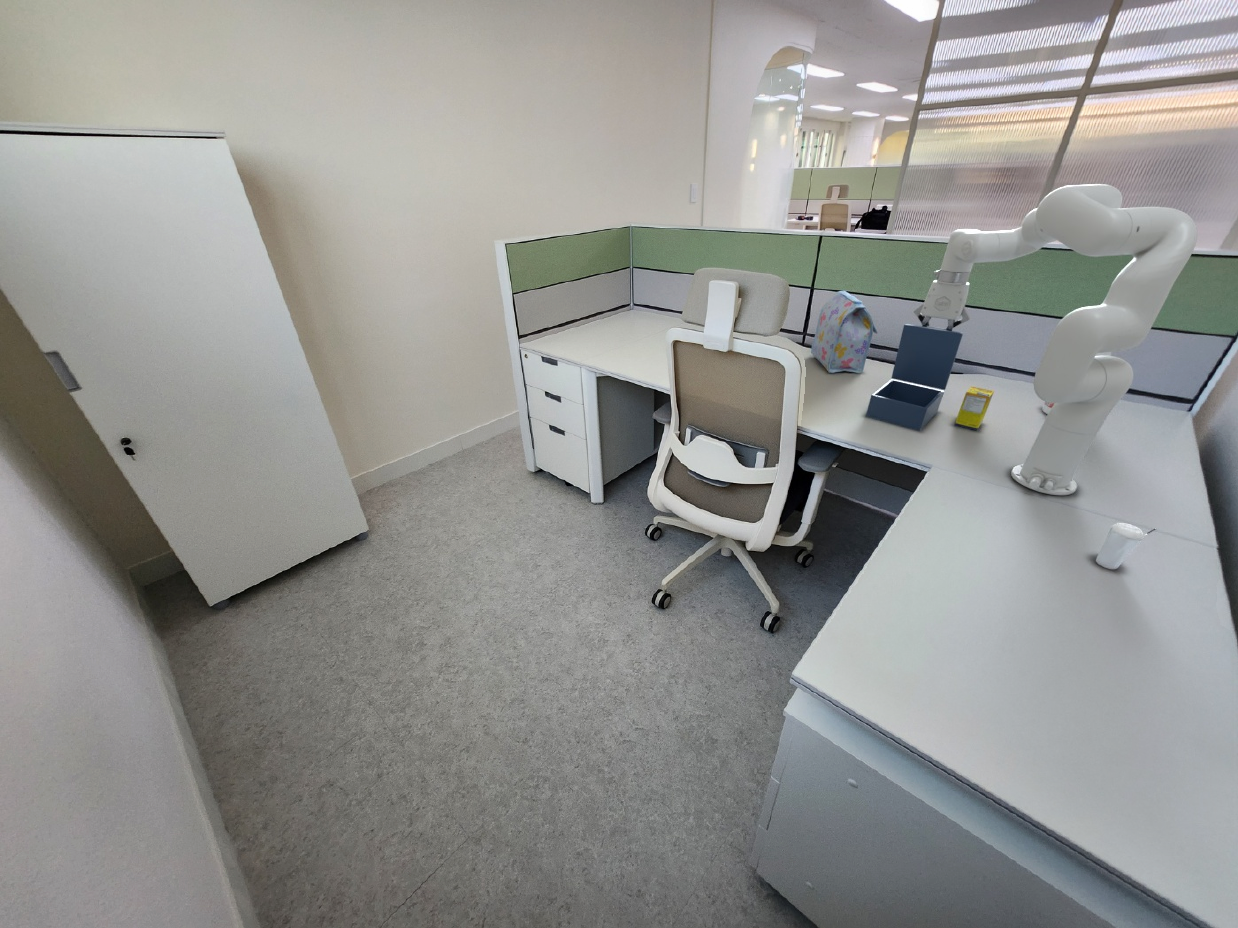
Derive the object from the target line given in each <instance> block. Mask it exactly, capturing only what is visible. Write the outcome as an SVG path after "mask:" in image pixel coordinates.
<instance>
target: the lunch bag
mask: <svg viewBox="0 0 1238 928" xmlns="http://www.w3.org/2000/svg"><path fill="white" fill-rule="evenodd" d="M874 333H875V334H876V335H877V334H878V333H879V332H878V329H877V328H876V325H875V323H874V320H873V317H872V315H871V313H870V312H869V310H868V308H867V307H866V306H865V305H864V304H863V301H862V300H860V299H858V298H857V297H856V296H854V295H851V294H850V293H849V292H847V290H839V291H836V292H835V294H834V295H833V296H832V297H831V298H829V299H828V300H827V302H825V303H824V305H823V306H822V307H821V309H820V312H819V315H818V319H817V326H816V329H815V334H814V338H813V341H812V345H811V349H810V354H811V355H813V357H815V359H816V360H818V362H820V364H821V365H822V366H823V367H824V368H825V369H826V371H827V372H828V373H829V374H835V373H840V372H852V373H856V374H862V373H863V371H864V368H865V365H866V362H867V357H868V353H869V350H870V346H871V343H872V339H873V334H874Z"/></svg>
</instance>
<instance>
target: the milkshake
mask: <svg viewBox="0 0 1238 928" xmlns="http://www.w3.org/2000/svg"><path fill="white" fill-rule="evenodd" d="M1156 530H1157V528H1156V527H1155V528H1152V529H1151V530H1150V531H1148V532H1146V533H1144V532H1143V531H1142V529H1140V527H1137V526H1135V525H1133V524H1130V523H1126V522H1115V523H1114V524H1111V526H1110V528H1109V531H1108V532H1107V535H1106V538H1105V540H1104V542H1103V545H1102V547H1101V549H1100V550H1099V552H1098V554H1097V556H1096V559H1095V562H1096V563H1097V564H1098V565H1099V566H1101V567H1103V568H1105V569H1109V570H1117V569H1118V568H1119V567H1120V566H1121V565H1122V564H1123V563H1124V561H1125V560H1126V559H1127V558H1128V557H1129V555H1130V554H1131V553H1132V552H1133V551H1134V550H1135V549H1136V548H1137V547H1138V546H1139V545H1140V544H1141V542H1142V541H1144V539H1145V538H1146V536H1147V535H1149V534H1151V533H1153V532H1154V531H1156Z"/></svg>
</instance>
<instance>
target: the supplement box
mask: <svg viewBox="0 0 1238 928" xmlns="http://www.w3.org/2000/svg"><path fill="white" fill-rule="evenodd" d="M994 392H995V391H994V390H992V389H986V388H982V387H977V386H972V385H971V386H970V387H969V388H968V389H967V391H966V392H965V394H964V397H963V399H962V403H961V405H960V408H959V411H958V414H957V416H956V418H955V422H954V426H957V427H961V428H965V429H968V430H973V431H976V432H977V431H978V430H979V428H980V427H981V425H982V424H983V421H984V418H985V416H986V413H987V410H988V408H989V405H990V403H991V400H992V398H993V395H994Z"/></svg>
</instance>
